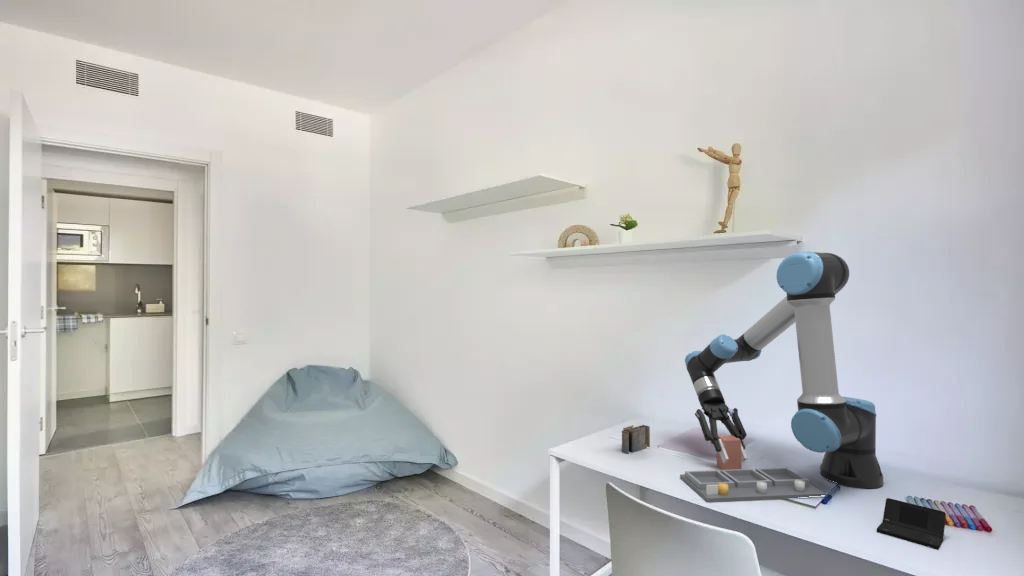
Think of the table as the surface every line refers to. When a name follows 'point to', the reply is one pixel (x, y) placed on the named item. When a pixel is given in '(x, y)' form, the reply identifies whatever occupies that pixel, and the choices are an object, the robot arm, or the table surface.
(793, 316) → the robot arm
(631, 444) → the dark grey upright slab
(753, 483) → the grey compartment tray
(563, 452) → the table surface
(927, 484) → the table surface
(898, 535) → the handheld gaming console
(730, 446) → the salmon pink square prism
